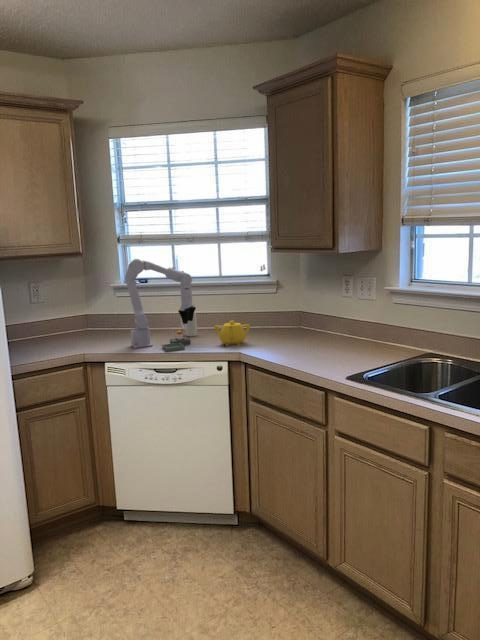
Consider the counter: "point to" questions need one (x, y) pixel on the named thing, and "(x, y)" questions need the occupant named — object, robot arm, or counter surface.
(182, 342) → the block
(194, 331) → the mug
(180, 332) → the small bottle
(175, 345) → the tray
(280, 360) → the counter surface
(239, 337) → the teapot
